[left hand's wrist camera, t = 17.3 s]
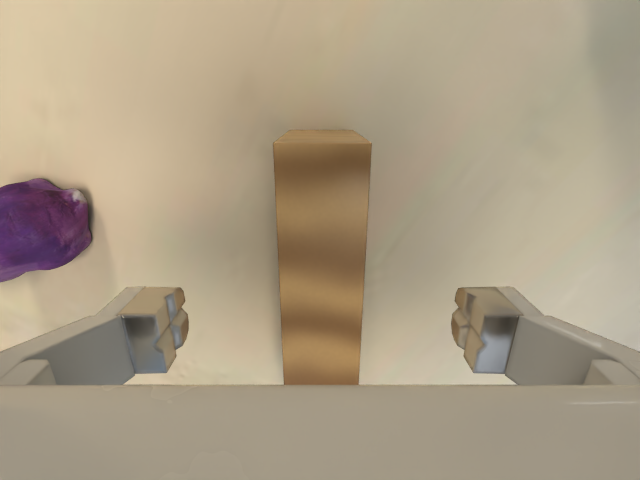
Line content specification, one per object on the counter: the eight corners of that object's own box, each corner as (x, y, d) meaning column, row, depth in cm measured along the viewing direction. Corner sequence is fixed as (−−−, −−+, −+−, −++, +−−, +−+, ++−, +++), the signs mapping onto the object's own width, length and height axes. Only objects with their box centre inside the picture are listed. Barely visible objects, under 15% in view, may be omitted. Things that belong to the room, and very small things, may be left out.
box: (289, 129, 32) (272, 142, 20) (353, 130, 32) (372, 142, 20) (296, 357, 41) (287, 451, 30) (345, 357, 41) (354, 451, 30)
